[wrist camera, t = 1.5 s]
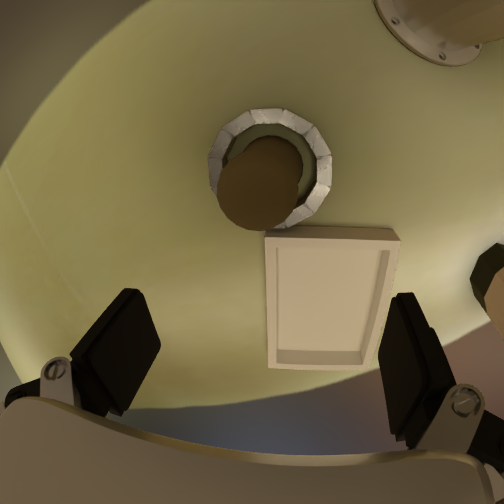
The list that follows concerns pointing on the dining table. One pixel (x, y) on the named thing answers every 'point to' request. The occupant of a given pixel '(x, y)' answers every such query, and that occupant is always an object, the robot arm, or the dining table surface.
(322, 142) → the stone ring
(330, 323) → the white rectangular tray
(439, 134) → the dining table surface
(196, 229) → the dining table surface
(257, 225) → the cork
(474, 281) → the wine bottle
